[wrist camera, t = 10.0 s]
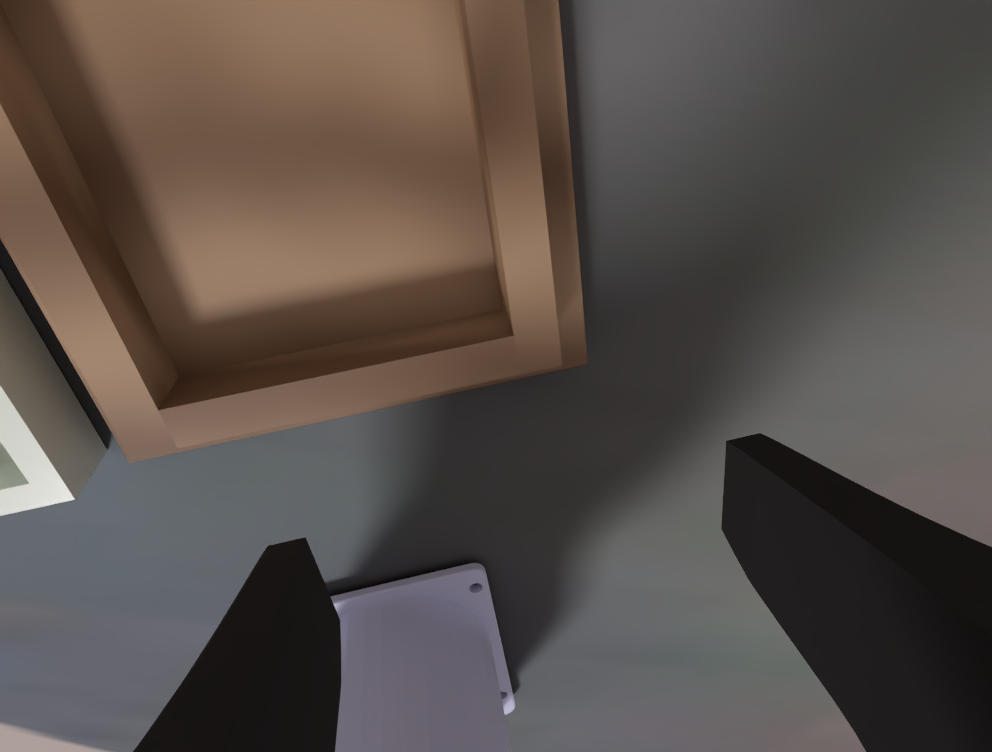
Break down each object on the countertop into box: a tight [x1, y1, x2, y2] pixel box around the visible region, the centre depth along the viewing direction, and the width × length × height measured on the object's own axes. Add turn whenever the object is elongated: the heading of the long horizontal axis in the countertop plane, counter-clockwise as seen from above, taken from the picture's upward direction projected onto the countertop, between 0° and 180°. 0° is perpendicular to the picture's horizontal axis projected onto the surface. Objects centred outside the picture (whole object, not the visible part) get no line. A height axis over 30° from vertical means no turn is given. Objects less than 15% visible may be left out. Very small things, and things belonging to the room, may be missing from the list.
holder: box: [0, 0, 588, 463], centre depth 14 cm, size 14×14×3 cm
